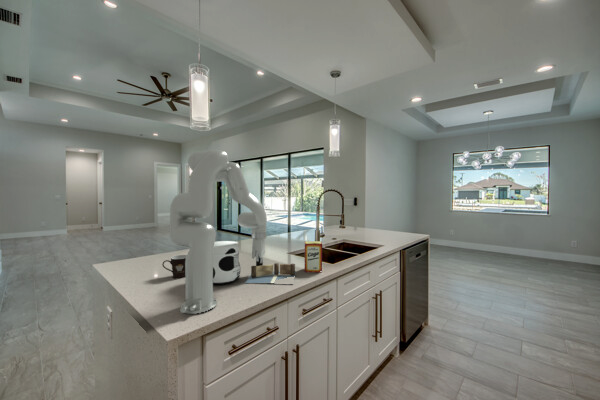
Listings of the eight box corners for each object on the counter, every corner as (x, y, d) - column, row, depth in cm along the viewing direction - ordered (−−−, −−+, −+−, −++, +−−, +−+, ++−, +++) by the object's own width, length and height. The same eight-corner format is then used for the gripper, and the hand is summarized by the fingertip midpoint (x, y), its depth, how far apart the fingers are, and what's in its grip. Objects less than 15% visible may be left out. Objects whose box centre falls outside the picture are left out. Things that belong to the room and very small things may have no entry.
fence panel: (272, 273, 129) (272, 263, 129) (273, 274, 127) (273, 264, 127) (250, 276, 125) (250, 266, 125) (251, 277, 122) (251, 267, 122)
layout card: (293, 284, 115) (293, 283, 115) (244, 283, 117) (244, 282, 117) (296, 272, 133) (296, 271, 133) (254, 271, 135) (254, 270, 135)
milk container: (201, 277, 124) (201, 242, 124) (236, 273, 132) (236, 239, 132) (205, 289, 109) (205, 249, 108) (244, 283, 117) (244, 245, 116)
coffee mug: (192, 274, 130) (192, 255, 130) (183, 279, 121) (183, 259, 121) (171, 273, 131) (171, 254, 131) (161, 278, 122) (161, 258, 122)
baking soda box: (304, 272, 134) (304, 242, 134) (304, 268, 141) (304, 240, 141) (322, 272, 134) (322, 243, 134) (321, 268, 141) (321, 240, 141)
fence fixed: (295, 275, 129) (295, 263, 129) (294, 276, 127) (294, 264, 127) (274, 274, 130) (274, 263, 130) (273, 275, 128) (273, 264, 128)
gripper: (255, 232, 135) (255, 265, 136) (247, 238, 120) (248, 275, 121) (268, 232, 134) (269, 265, 135) (263, 238, 120) (263, 275, 120)
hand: (259, 270), depth 128 cm, fingers closed
